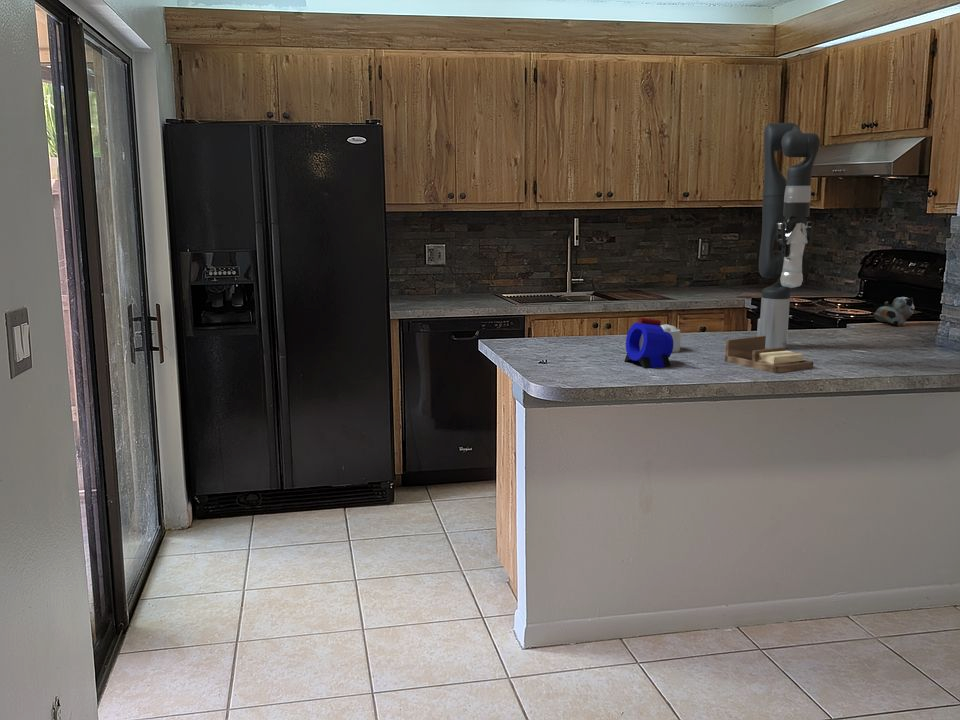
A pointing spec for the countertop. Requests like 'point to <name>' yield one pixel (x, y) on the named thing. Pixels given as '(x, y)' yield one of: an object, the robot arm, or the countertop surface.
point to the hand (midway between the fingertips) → (793, 256)
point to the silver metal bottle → (794, 261)
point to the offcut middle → (778, 363)
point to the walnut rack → (757, 355)
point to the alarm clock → (649, 344)
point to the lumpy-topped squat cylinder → (673, 336)
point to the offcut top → (780, 356)
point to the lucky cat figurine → (895, 311)
